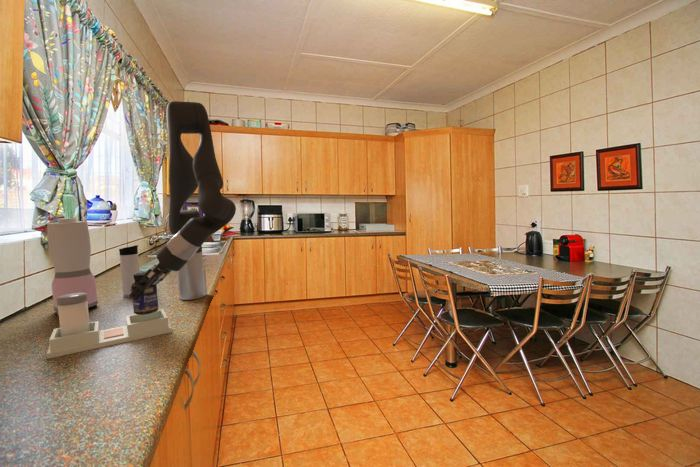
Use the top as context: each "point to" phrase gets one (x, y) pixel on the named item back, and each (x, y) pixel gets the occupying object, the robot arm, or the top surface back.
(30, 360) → the top surface
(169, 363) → the top surface
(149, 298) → the pill bottle
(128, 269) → the travel mug
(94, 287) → the blender
